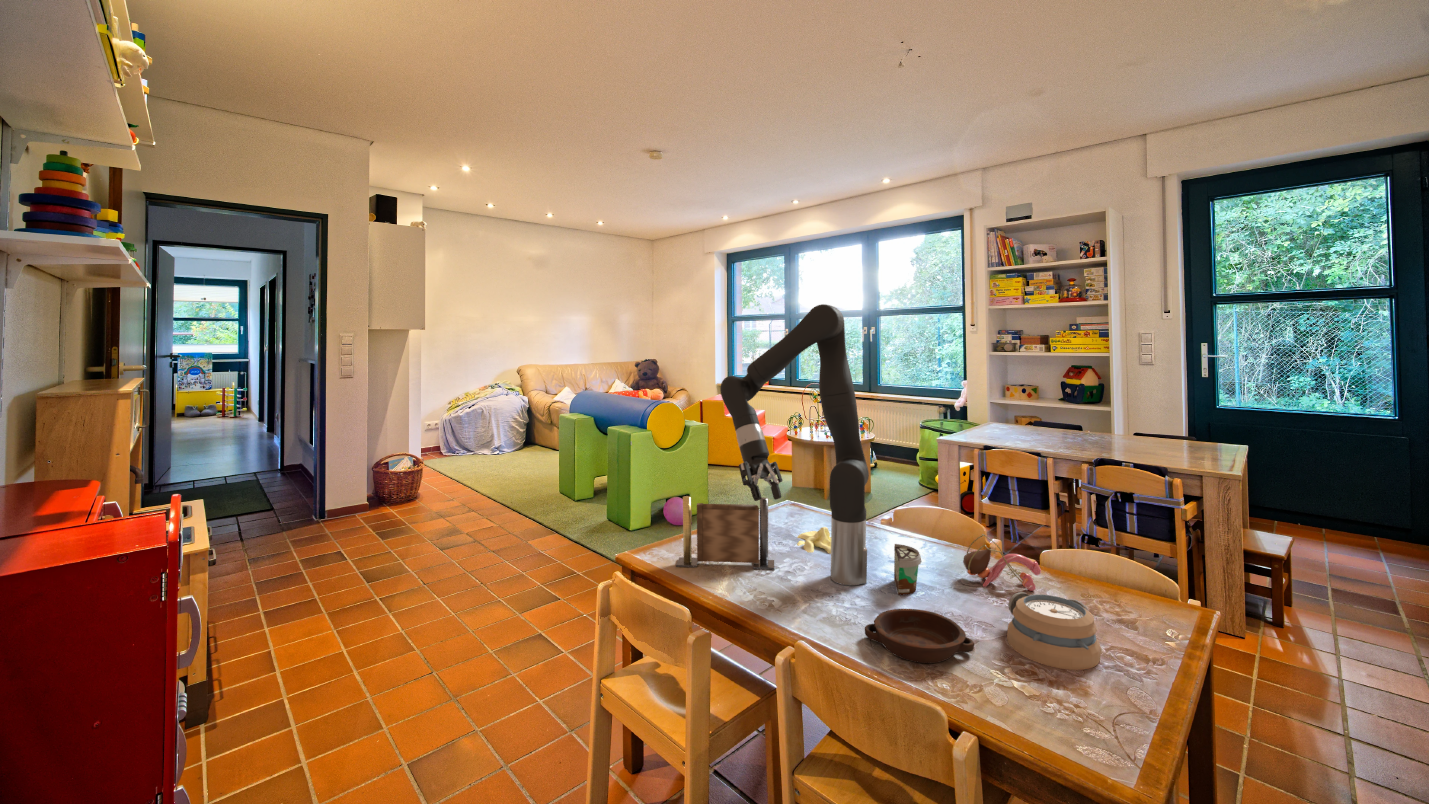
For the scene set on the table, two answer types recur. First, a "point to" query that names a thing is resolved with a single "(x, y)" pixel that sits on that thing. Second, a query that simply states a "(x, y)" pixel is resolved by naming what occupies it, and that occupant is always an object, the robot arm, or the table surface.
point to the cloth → (816, 540)
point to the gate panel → (727, 533)
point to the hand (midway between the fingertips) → (768, 499)
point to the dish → (918, 635)
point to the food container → (906, 569)
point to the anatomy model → (998, 565)
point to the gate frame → (687, 543)
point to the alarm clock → (1053, 631)
